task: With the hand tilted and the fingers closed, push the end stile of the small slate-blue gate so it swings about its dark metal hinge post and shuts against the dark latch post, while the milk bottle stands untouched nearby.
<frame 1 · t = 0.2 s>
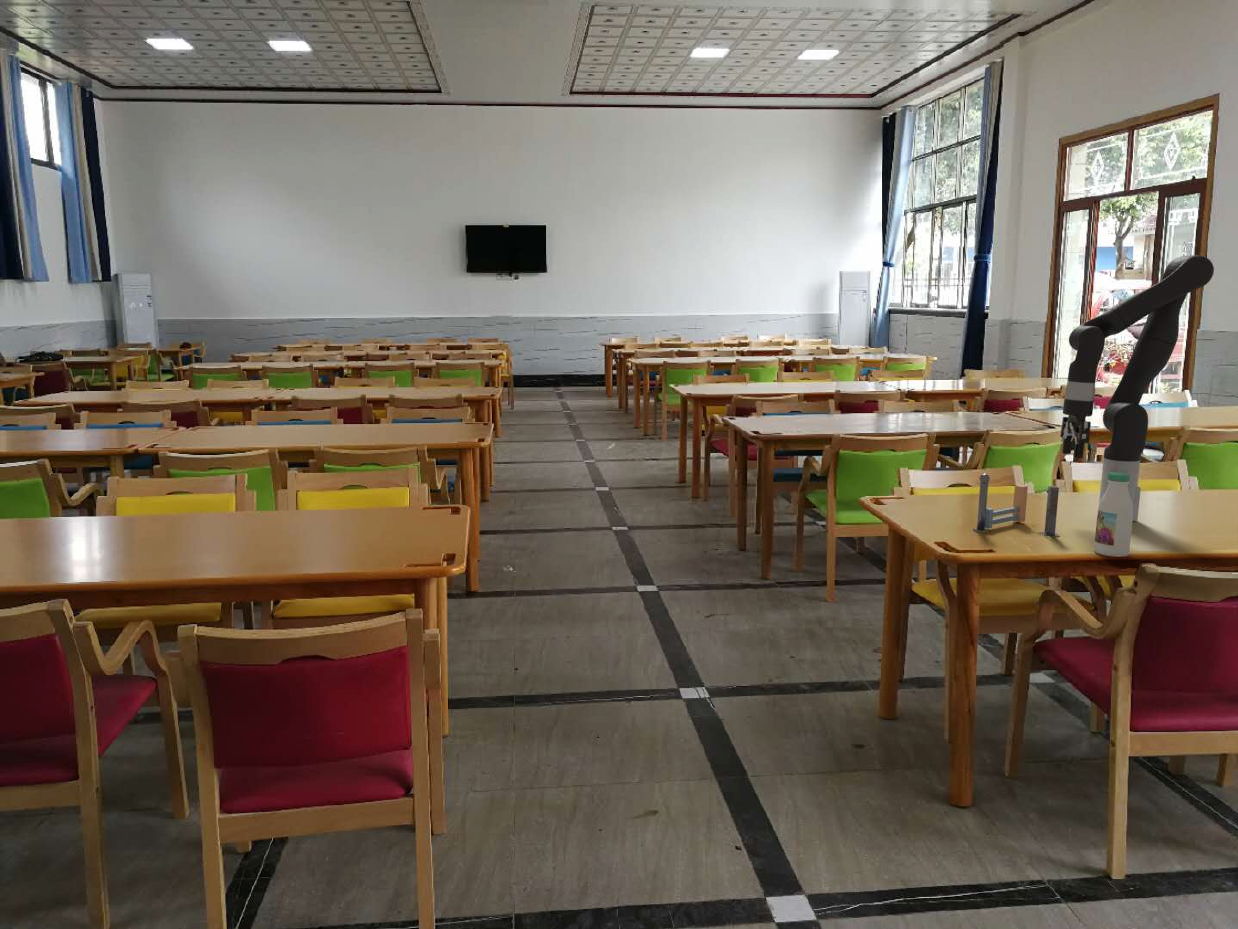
hand: (1072, 455, 267), 18 cm above the table, tool pointing down, fingers open, 8 cm apart
milk bottle: (1111, 554, 233), on the table
gate: (1005, 506, 260), point 5 cm above the table, hinge at 40.0°
latch post: (1049, 535, 251), on the table
hinge post: (980, 530, 255), on the table
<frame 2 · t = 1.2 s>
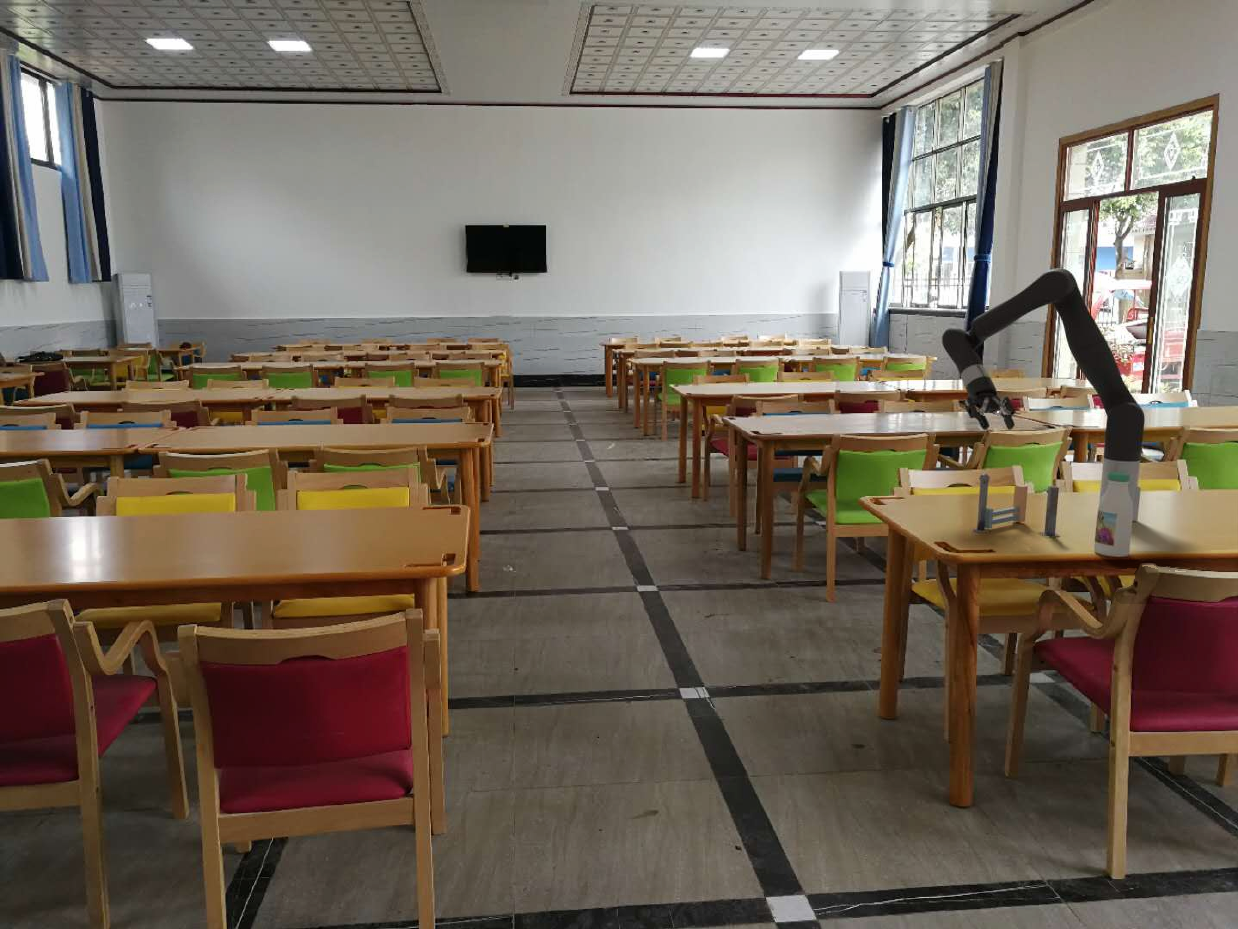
hand: (999, 428, 271), 25 cm above the table, tool tilted 45°, fingers open, 7 cm apart
nothing on the table moved.
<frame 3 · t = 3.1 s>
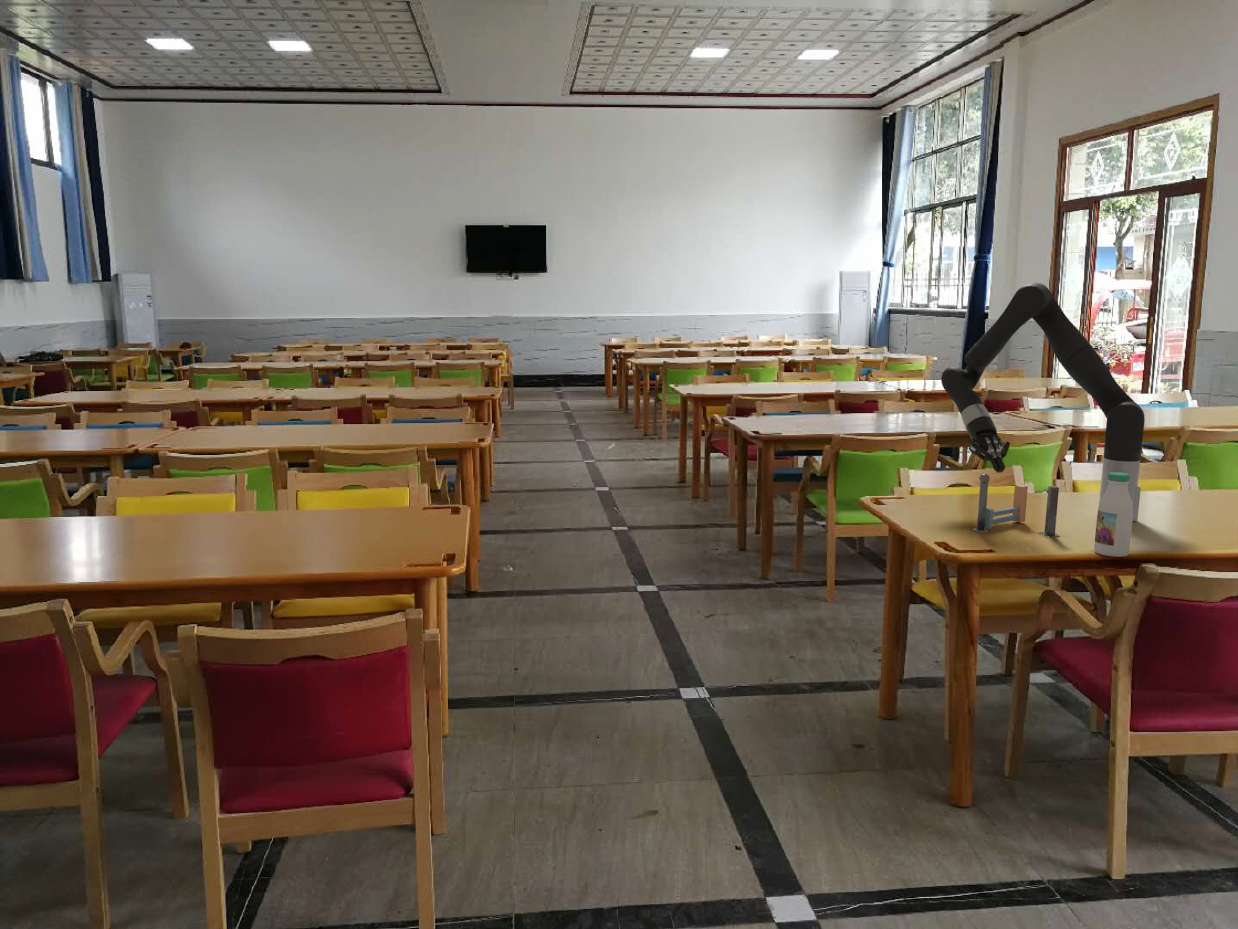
hand: (1001, 470, 271), 13 cm above the table, tool tilted 45°, fingers closed
nothing on the table moved.
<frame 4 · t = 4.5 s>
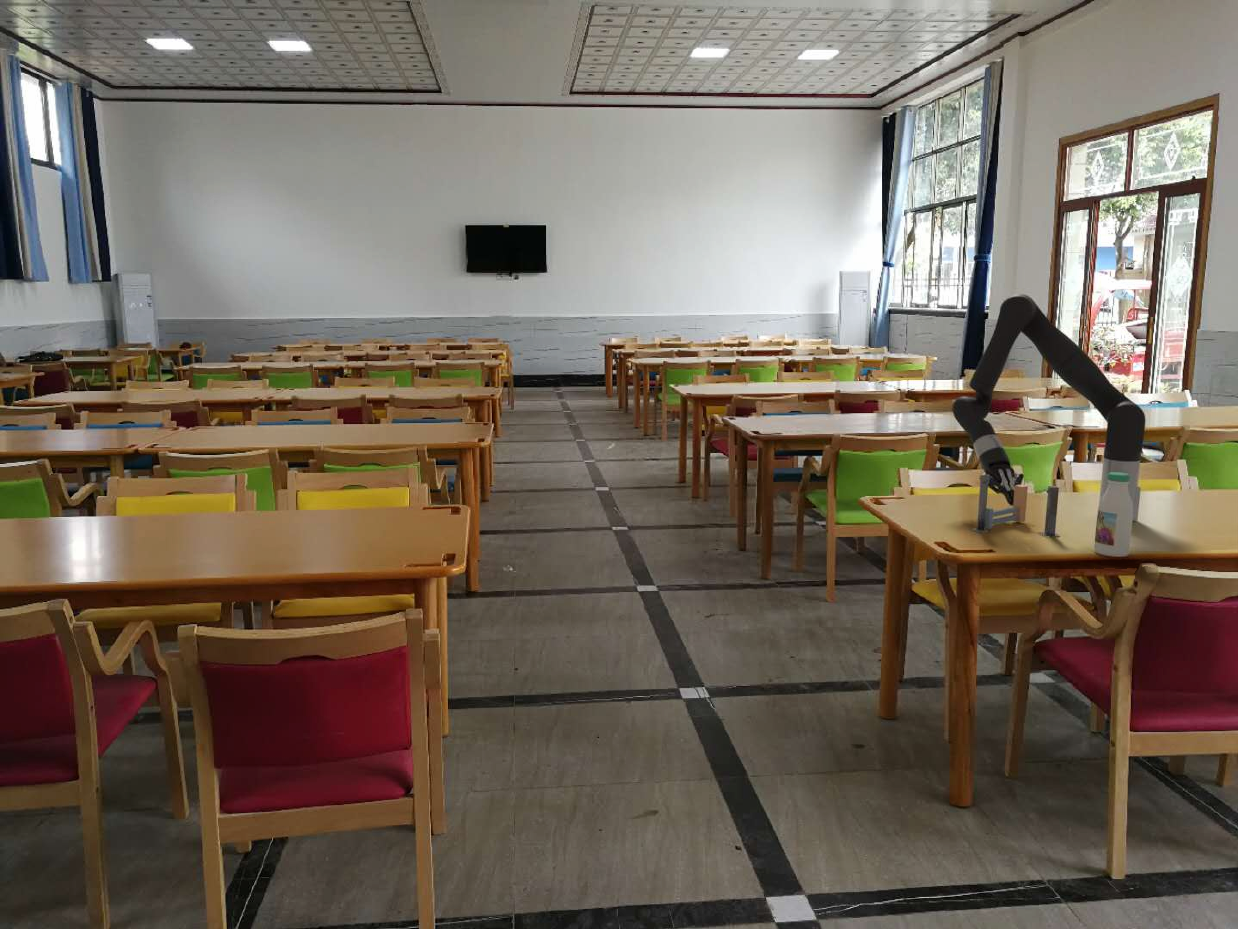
hand: (1014, 504, 266), 5 cm above the table, tool tilted 45°, fingers closed
gate: (1005, 506, 260), point 6 cm above the table, hinge at 40.0°, touching gripper
everything else where it was.
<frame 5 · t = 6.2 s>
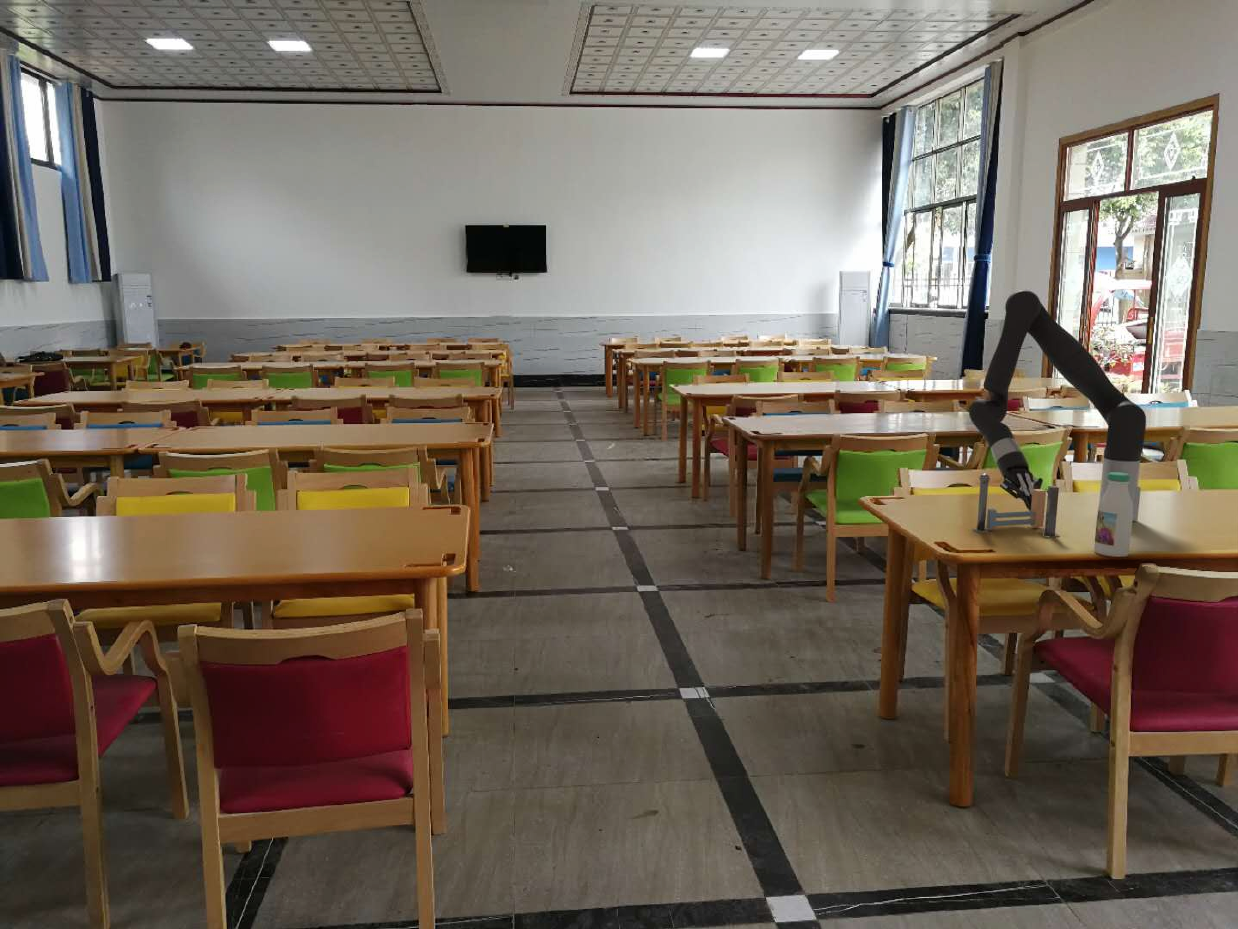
hand: (1034, 509, 260), 5 cm above the table, tool tilted 45°, fingers closed
gate: (1015, 509, 256), point 6 cm above the table, hinge at 18.8°, touching gripper
everything else where it was.
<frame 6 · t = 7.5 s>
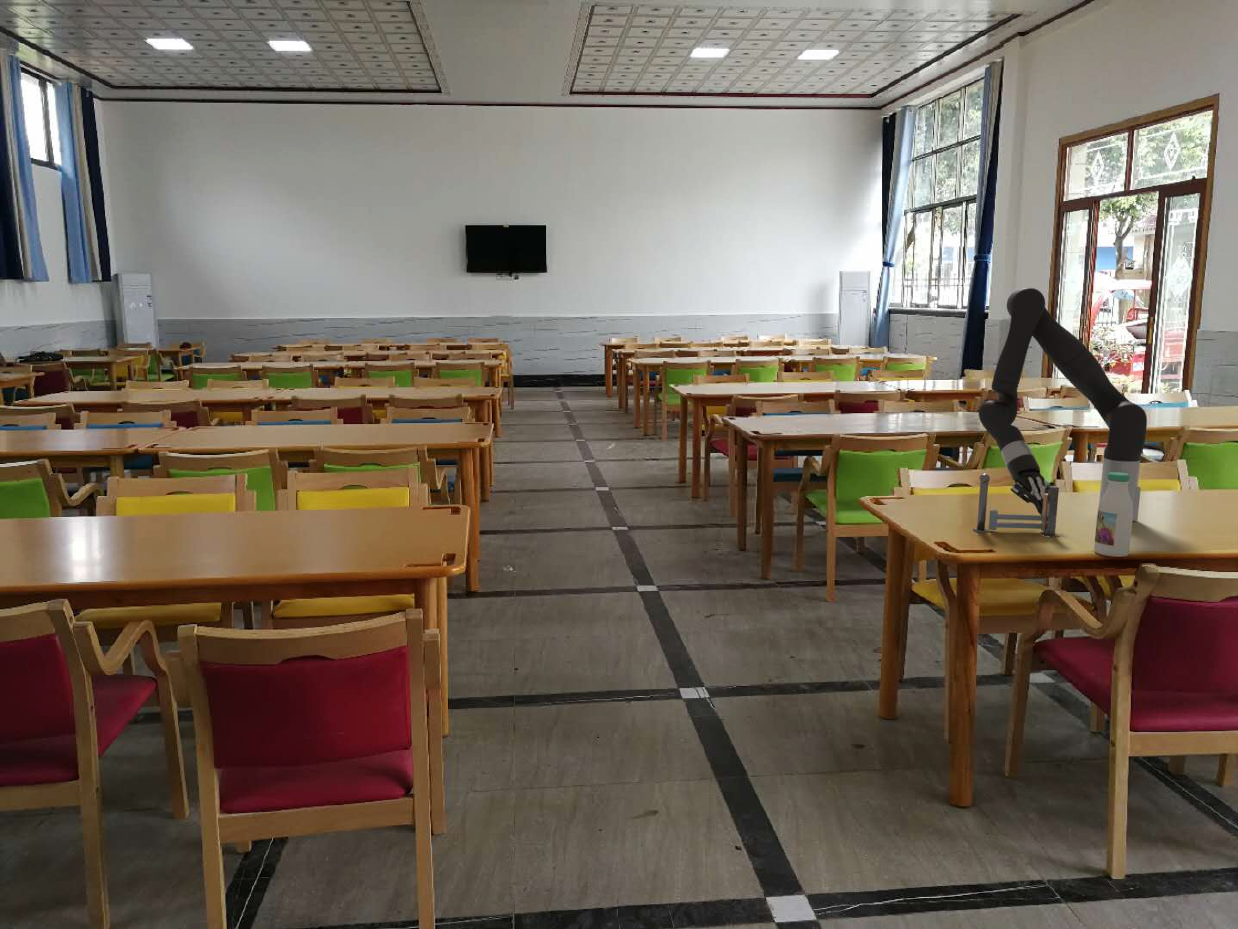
hand: (1045, 514, 254), 5 cm above the table, tool tilted 45°, fingers closed
gate: (1021, 512, 253), point 6 cm above the table, hinge at -0.7°, touching gripper, latch post
everything else where it was.
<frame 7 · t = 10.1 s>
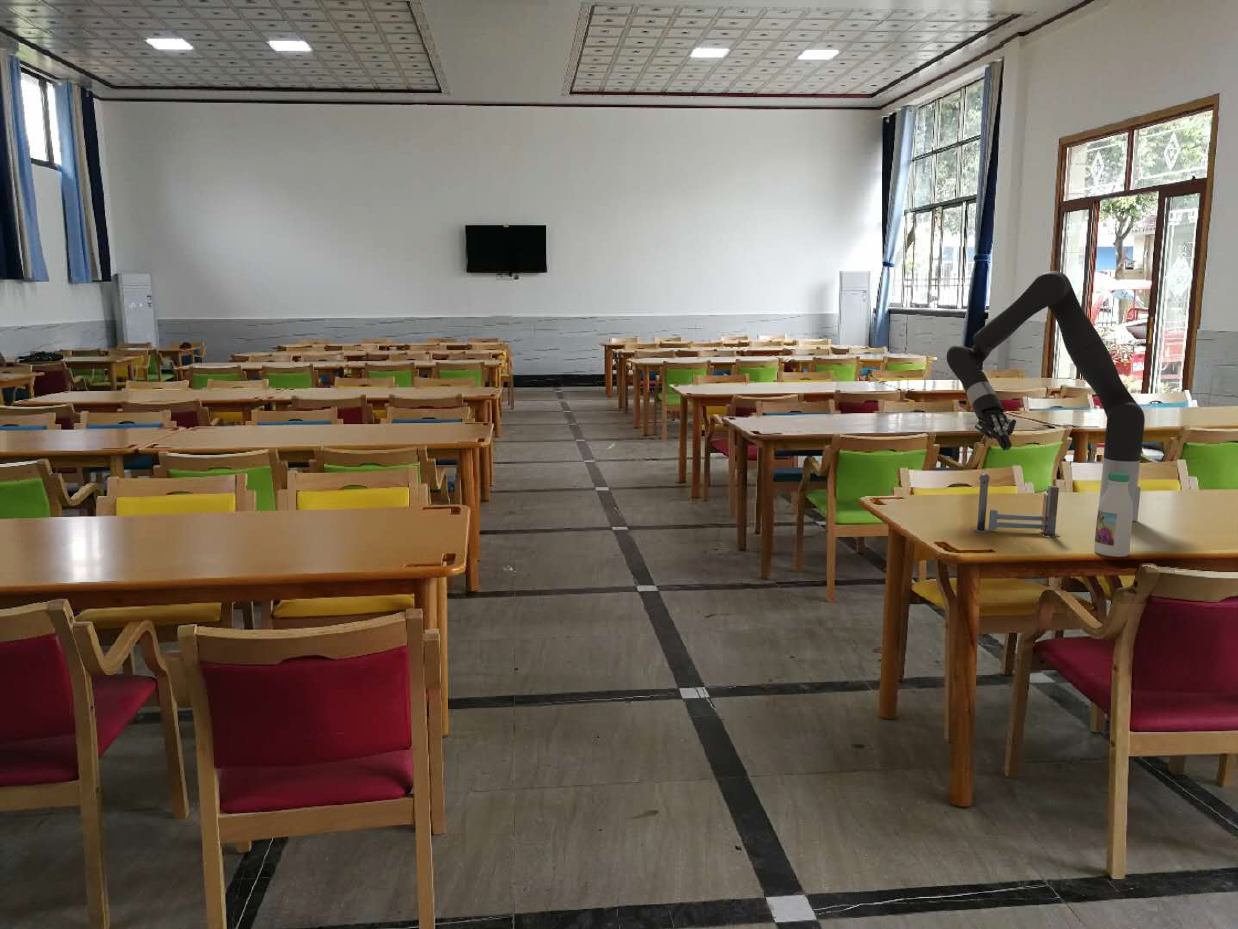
hand: (1007, 448, 269), 20 cm above the table, tool tilted 45°, fingers closed
gate: (1021, 512, 253), point 6 cm above the table, hinge at -0.7°, touching latch post
everything else where it was.
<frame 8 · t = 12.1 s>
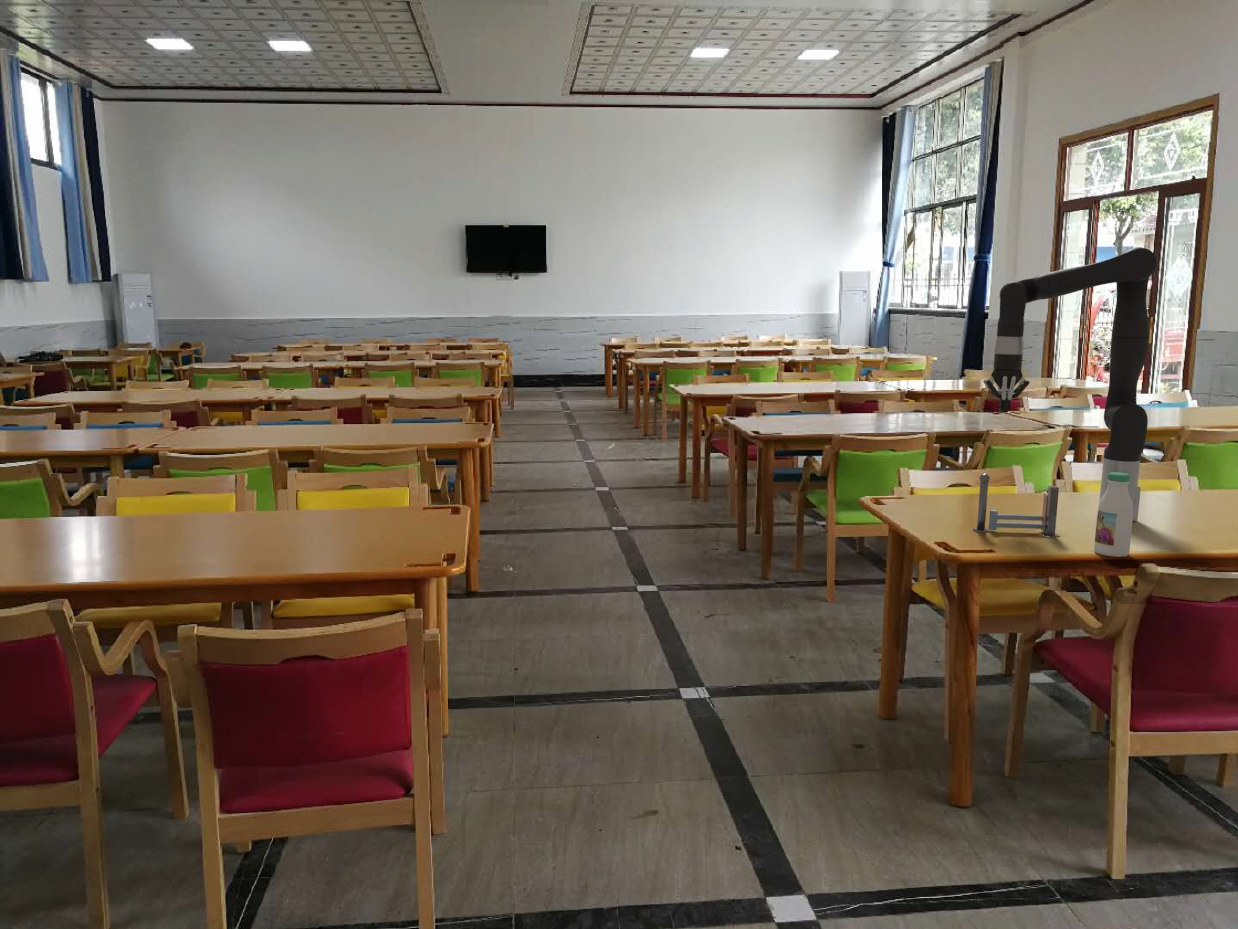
hand: (1004, 412, 275), 29 cm above the table, tool pointing down, fingers closed
nothing on the table moved.
at the end: gate at -1° (first picture: +40°); milk bottle moved 0.2 cm from its start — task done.
